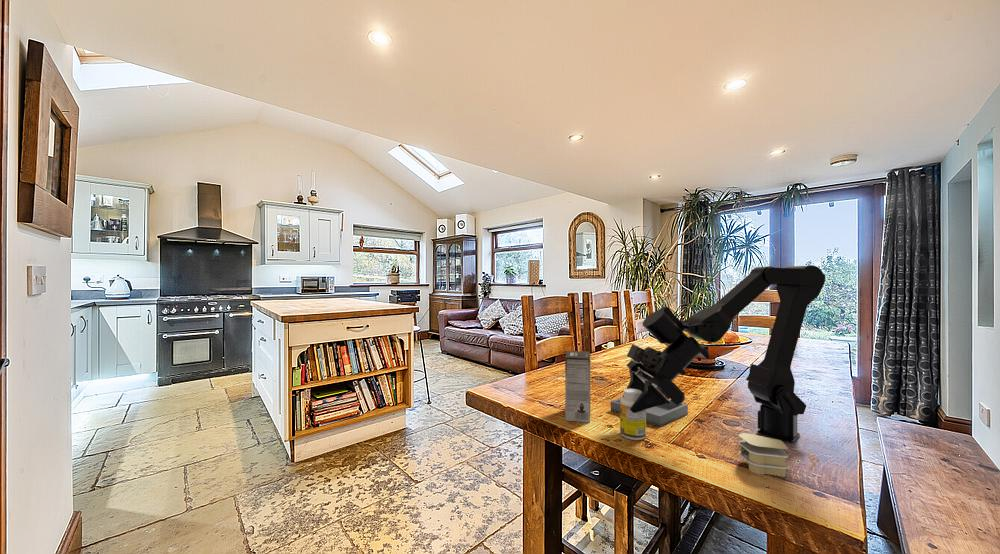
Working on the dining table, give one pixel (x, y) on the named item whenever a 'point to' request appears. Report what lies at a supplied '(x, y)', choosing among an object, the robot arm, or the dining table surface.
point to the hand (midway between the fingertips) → (626, 406)
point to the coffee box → (577, 386)
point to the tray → (658, 412)
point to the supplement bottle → (632, 416)
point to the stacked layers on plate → (763, 454)
